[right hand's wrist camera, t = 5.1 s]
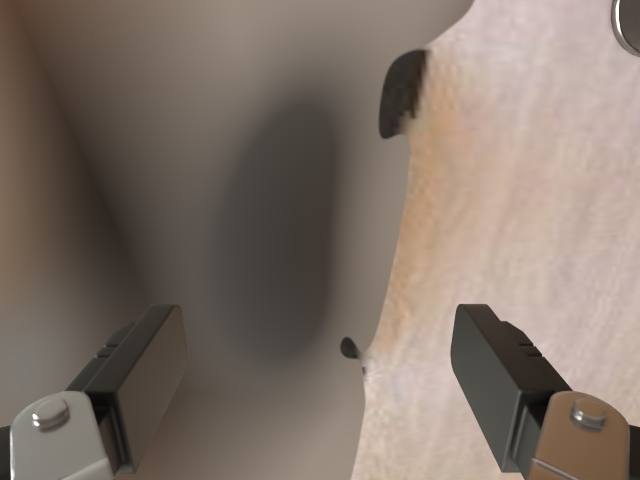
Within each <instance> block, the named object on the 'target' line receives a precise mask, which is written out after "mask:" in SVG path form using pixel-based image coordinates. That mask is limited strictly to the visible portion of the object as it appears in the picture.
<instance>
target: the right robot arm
mask: <svg viewBox="0 0 640 480" xmlns="http://www.w3.org/2000/svg"><path fill="white" fill-rule="evenodd" d="M611 22H612V28H613V32H614V35H615V37H616V39H617V41H618V42H619V44H620V45H621V46H622V47H623V48H624V49H625V50H626V51H628V52H629V53H631V54H633V55H635V56H638V57H640V0H613V3H612V9H611ZM186 364H187V345H186V338H185V331H184V323H183V316H182V310H181V308H180V306H179V305H151V306H149V307H148V309H147V310H146V311H145V312H144V314H143V315H142V316H141V317H140V319H139V320H138V321H137V322H130V323H129V324H127V325H126V326H124V327H122V328H121V329H119V330H118V331H116V332H115V333H114V334H113V335H112V336H111V337H110V338H109V340H108V341H107V342H106V343H105V344H104V347H102V348H101V349H100V350H99V351H98V352H97V354H96V355H95V358H92V359H91V361H90V362H89V363H88V364H87V365H86V367H85V368H84V369H83V370H82V371H81V372H80V374H79V375H78V376H77V377H76V378H75V379H74V381H73V382H72V383H71V384H70V385H69V386H68V388H67V389H66V390H65V391H64V392H59V393H56V394H52V395H49V396H47V397H44V398H42V399H40V400H38V401H36V402H34V403H33V404H31V405H29V406H28V407H27V408H25V409H24V410H23V411H22V412H21V413H20V414H19V415H18V416H17V417H16V418H15V419H14V421H13V423H12V425H10V426H6V427H2V428H0V480H115V479H114V477H115V475H116V474H135V473H136V471H137V469H138V467H139V465H140V463H141V461H142V459H143V457H144V455H145V453H146V451H147V448H148V446H149V444H150V442H151V440H152V438H153V436H154V434H155V432H156V430H157V428H158V426H159V424H160V422H161V420H162V417H163V415H164V413H165V411H166V409H167V407H168V405H169V403H170V401H171V399H172V397H173V395H174V393H175V391H176V389H177V386H178V384H179V382H180V380H181V378H182V376H183V374H184V372H185V369H186ZM451 364H452V368H453V371H454V373H455V376H456V378H457V380H458V382H459V384H460V386H461V388H462V390H463V392H464V394H465V396H466V399H467V401H468V403H469V405H470V407H471V409H472V411H473V413H474V415H475V417H476V419H477V422H478V424H479V426H480V428H481V430H482V432H483V434H484V436H485V438H486V440H487V442H488V444H489V447H490V449H491V451H492V453H493V455H494V457H495V459H496V461H497V463H498V465H499V467H500V470H501V472H521V474H522V476H523V478H524V479H525V480H640V427H637V426H632V425H628V423H627V421H626V419H625V418H624V417H623V416H622V415H621V414H620V413H619V412H618V411H617V410H616V409H615V408H613V407H612V406H611V405H609V404H607V403H606V402H604V401H602V400H600V399H598V398H596V397H593V396H591V395H588V394H585V393H581V392H575V391H573V390H572V389H571V388H570V387H569V385H568V384H567V383H566V382H565V381H564V380H563V378H562V377H561V376H560V375H559V374H558V373H557V371H556V370H555V369H554V368H553V367H552V365H551V364H550V363H549V362H548V361H547V360H546V358H545V357H542V354H541V352H540V351H539V350H538V349H537V348H536V347H535V346H533V343H532V342H531V341H530V340H529V338H528V337H527V336H526V335H525V334H524V332H523V331H521V330H519V329H518V328H516V327H515V326H513V325H512V324H510V323H509V322H507V321H500V320H499V318H498V317H497V316H496V315H495V313H494V312H493V311H492V310H491V308H490V307H489V306H488V305H487V304H459V305H458V307H457V310H456V315H455V322H454V329H453V337H452V344H451Z"/></svg>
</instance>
